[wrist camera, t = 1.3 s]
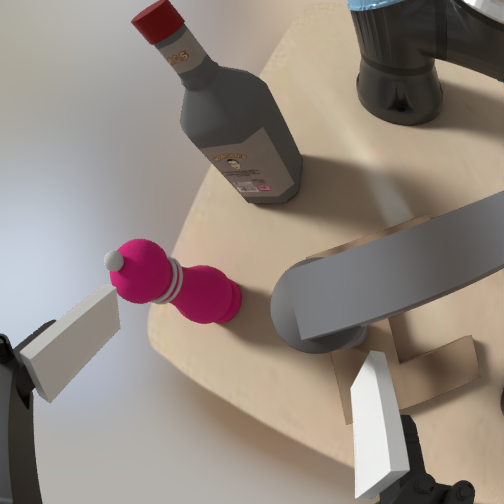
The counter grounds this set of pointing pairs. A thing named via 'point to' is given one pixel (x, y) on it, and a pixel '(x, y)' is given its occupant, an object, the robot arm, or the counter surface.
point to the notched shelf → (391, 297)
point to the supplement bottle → (502, 402)
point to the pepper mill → (172, 282)
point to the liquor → (227, 112)
